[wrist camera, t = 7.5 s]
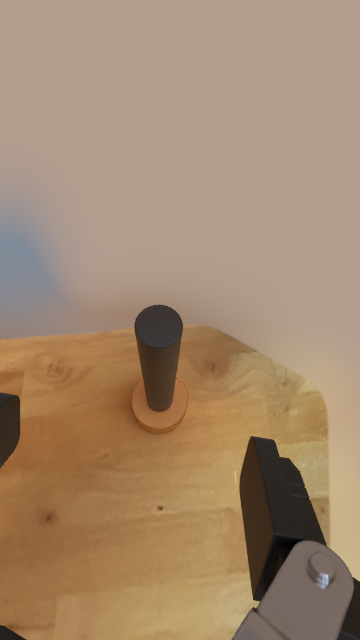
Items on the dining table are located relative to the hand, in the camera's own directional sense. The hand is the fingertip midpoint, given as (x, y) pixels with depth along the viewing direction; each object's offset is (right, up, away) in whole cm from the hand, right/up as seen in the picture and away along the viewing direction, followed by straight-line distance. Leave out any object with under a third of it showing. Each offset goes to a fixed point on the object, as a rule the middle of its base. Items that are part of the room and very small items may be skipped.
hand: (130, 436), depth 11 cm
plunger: (0, -4, +20) cm, 20 cm away
